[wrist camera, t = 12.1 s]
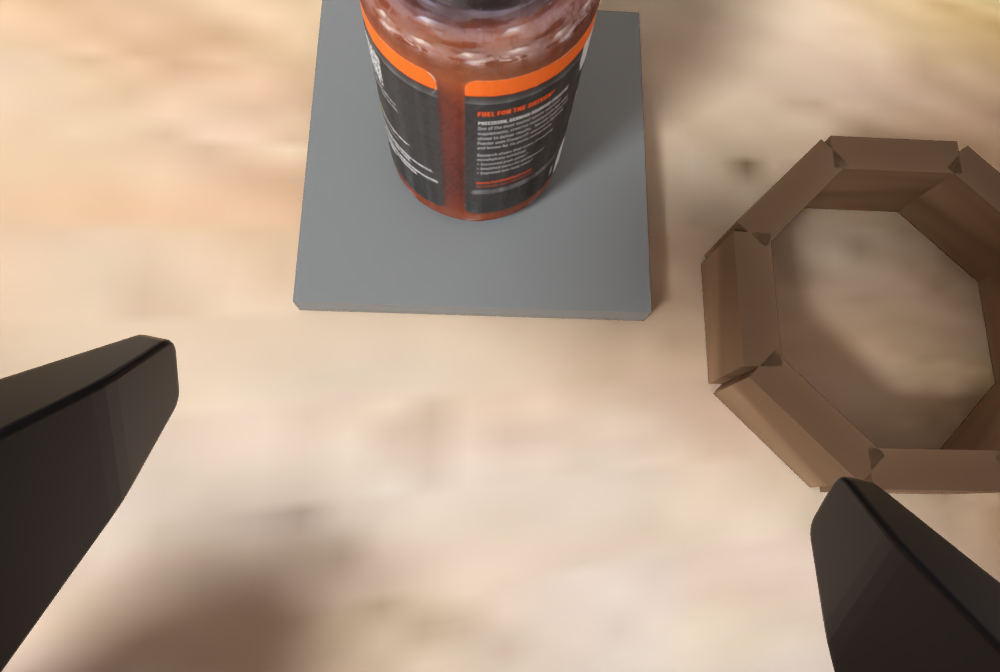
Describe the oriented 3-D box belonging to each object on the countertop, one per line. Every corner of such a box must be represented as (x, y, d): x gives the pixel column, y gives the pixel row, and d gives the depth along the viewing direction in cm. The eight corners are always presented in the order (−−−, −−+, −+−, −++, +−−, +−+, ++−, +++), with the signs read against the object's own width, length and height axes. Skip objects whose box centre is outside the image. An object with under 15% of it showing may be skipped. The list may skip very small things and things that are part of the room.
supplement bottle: (591, 142, 24) (697, -156, 13) (487, 261, 23) (511, 36, 12) (463, 48, 25) (465, -309, 14) (355, 158, 24) (265, -142, 13)
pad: (643, 320, 24) (651, 312, 23) (299, 310, 23) (292, 301, 22) (632, 30, 27) (638, 12, 26) (327, 14, 26) (322, -5, 25)
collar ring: (1048, 496, 23) (1132, 494, 20) (715, 489, 23) (753, 486, 20) (991, 186, 26) (1058, 146, 23) (695, 174, 25) (725, 131, 23)
